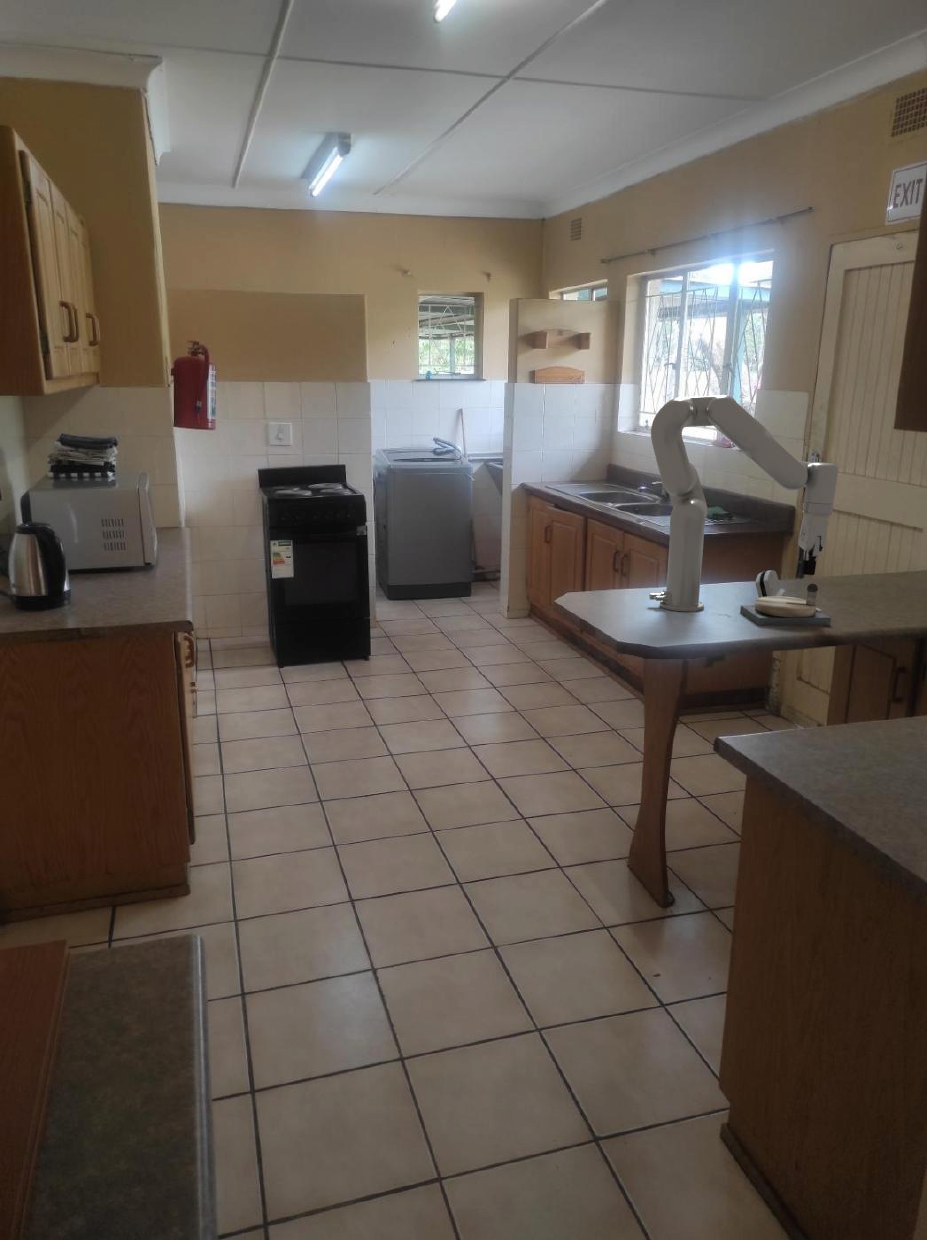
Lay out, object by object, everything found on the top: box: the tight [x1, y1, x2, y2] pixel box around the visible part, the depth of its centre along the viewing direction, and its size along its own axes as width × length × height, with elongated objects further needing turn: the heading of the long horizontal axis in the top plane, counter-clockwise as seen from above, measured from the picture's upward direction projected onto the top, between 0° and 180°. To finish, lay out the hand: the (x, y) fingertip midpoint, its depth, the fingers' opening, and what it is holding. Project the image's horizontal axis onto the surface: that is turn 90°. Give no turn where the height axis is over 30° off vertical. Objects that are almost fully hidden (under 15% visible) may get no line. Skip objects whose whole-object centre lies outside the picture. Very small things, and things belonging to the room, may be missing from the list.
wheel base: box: [739, 604, 832, 627], centre depth 244 cm, size 20×14×3 cm
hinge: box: [755, 570, 788, 598], centre depth 265 cm, size 17×5×10 cm, turn 152°
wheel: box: [754, 583, 819, 617], centre depth 243 cm, size 16×16×8 cm
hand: (807, 574), depth 243 cm, fingers closed
